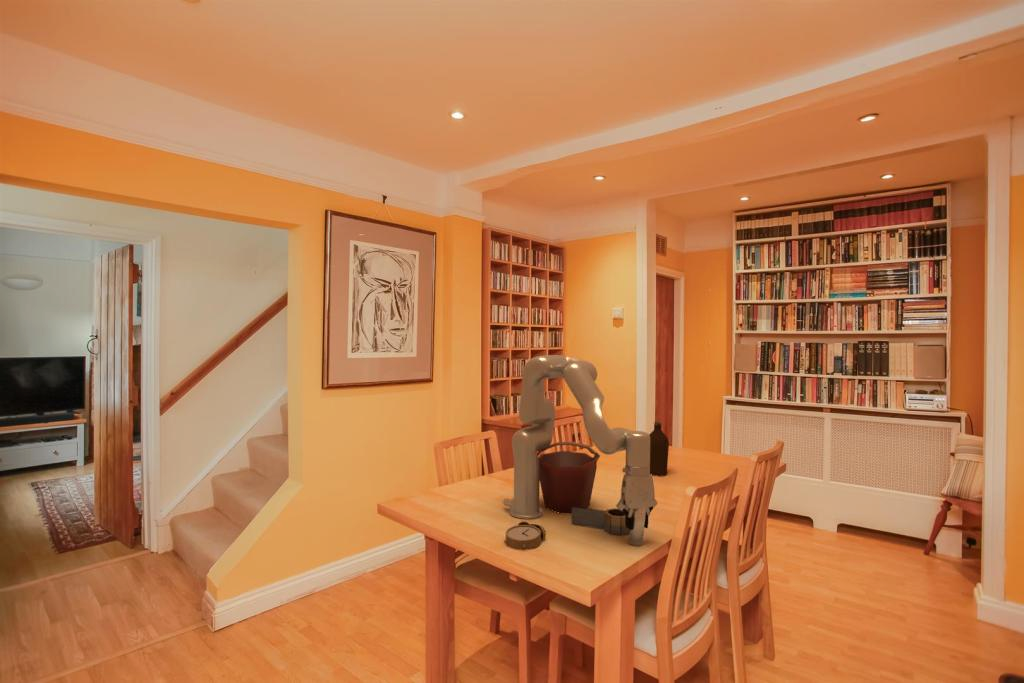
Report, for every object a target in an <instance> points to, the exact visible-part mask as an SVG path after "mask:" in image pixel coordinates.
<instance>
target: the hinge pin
mask: <svg viewBox="0 0 1024 683" xmlns="http://www.w3.org/2000/svg"><path fill="white" fill-rule="evenodd" d="M645 516H646V508H639V509H633V512H632V516H631V517H633V530H630V532H629V534H628V540H627V541H628V543H629V544H631V545H633V546H636V547H641V546H643V545H644V544H643V543H644V534H645V527H644V526H645ZM642 544H643V545H642ZM640 545H641V546H640Z"/></svg>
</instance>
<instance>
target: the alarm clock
mask: <svg viewBox="0 0 1024 683" xmlns="http://www.w3.org/2000/svg"><path fill="white" fill-rule="evenodd" d="M545 538H546V529H545V527H544V526H543V525H541V524H536V523H529V522H528V521H525V520H524V521H523V520H522V521H520V522H519V523H518V524H517V525H513V526H511V527H508V528H507V529H506V531H505V540H504V541H503V543H505V544H506V545H507V546H508V547H509V546H510V547H509V548H512V549H514V550H520V549H521V551H523V550H526V551H527V550H534V549H537V548H538V547H539V546H540V545H541V544H542V540H544V539H545Z"/></svg>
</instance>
